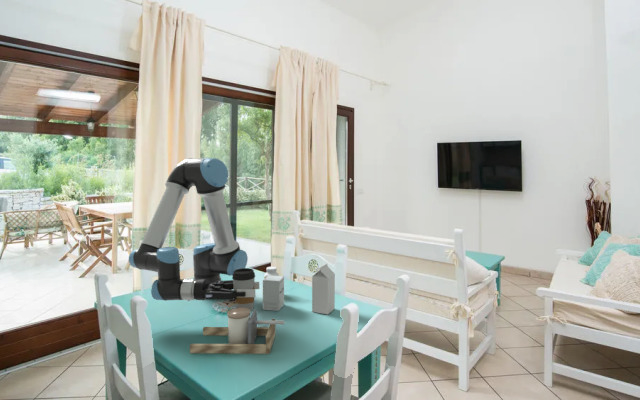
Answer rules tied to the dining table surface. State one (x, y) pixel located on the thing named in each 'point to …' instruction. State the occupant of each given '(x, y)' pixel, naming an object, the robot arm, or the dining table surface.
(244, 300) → the coffee cup
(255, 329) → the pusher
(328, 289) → the milk carton
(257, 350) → the lane
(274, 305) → the supplement box
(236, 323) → the cream jar
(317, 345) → the dining table surface
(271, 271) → the supplement bottle
